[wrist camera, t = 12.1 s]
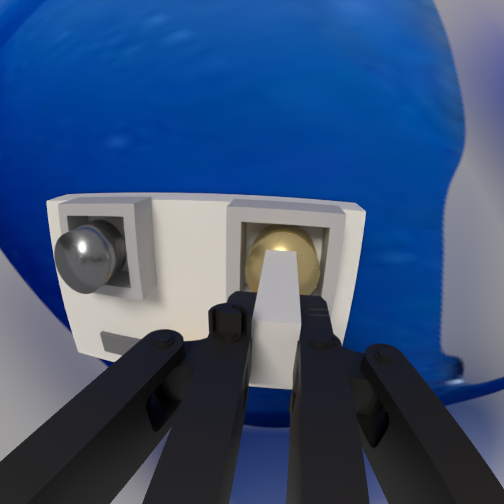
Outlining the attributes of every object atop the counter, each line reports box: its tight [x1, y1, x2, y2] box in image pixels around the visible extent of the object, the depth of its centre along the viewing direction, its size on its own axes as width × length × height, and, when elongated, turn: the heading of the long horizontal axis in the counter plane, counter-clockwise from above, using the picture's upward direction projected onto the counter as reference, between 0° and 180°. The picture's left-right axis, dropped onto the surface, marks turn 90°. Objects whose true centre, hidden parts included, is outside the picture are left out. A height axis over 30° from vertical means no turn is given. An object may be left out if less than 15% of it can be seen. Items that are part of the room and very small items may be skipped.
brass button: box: [245, 224, 320, 295], centre depth 17 cm, size 4×4×3 cm
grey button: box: [54, 219, 127, 294], centre depth 17 cm, size 4×4×3 cm
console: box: [47, 193, 366, 389], centre depth 21 cm, size 24×15×6 cm, turn 88°
